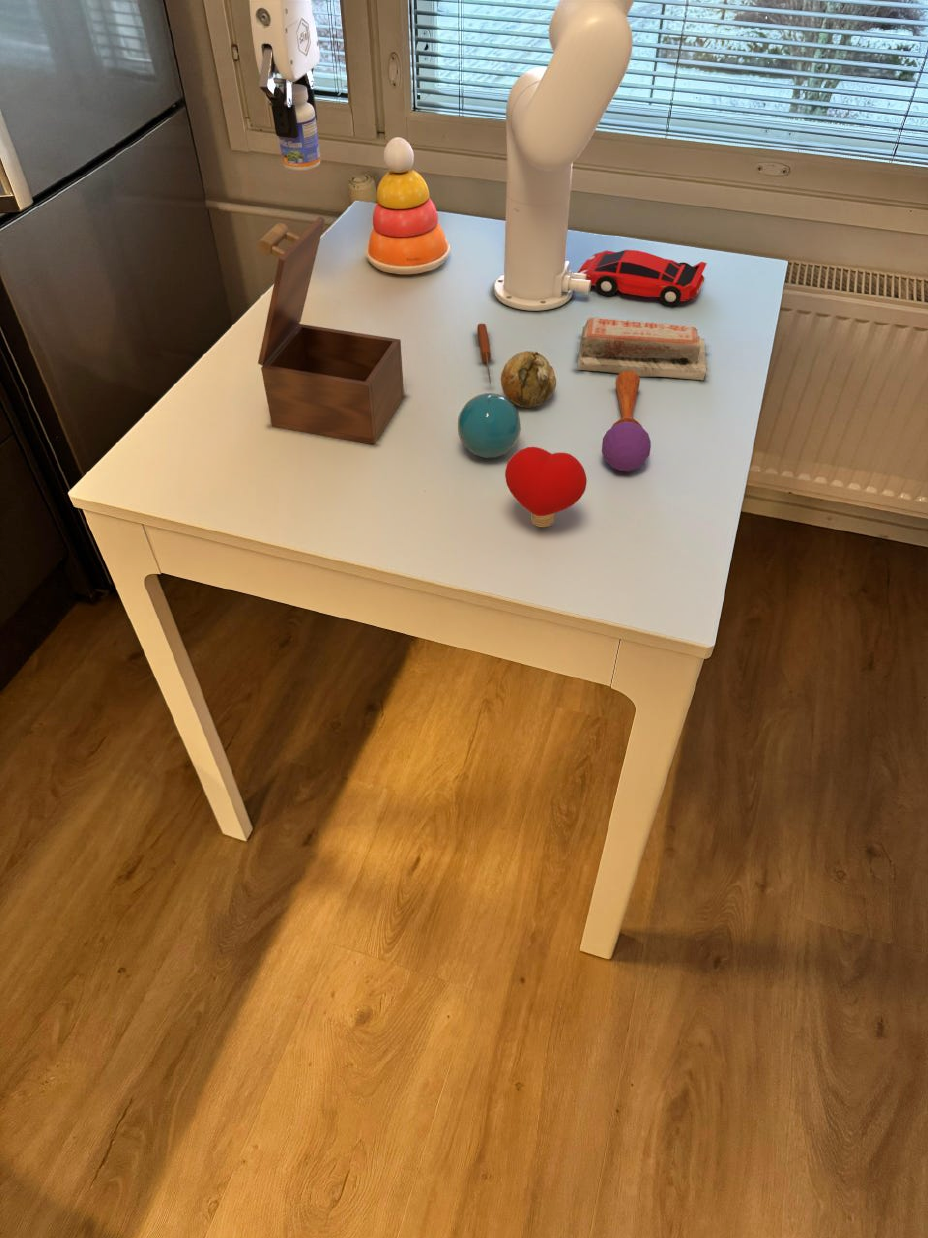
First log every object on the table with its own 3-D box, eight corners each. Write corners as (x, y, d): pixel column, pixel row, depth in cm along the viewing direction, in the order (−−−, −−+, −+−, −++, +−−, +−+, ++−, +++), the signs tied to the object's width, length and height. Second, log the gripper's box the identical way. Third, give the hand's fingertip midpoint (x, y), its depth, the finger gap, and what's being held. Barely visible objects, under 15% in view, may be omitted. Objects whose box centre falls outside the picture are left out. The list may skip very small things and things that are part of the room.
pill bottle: (275, 167, 129) (262, 91, 122) (299, 154, 132) (288, 79, 125) (305, 174, 127) (294, 97, 120) (329, 161, 130) (319, 85, 123)
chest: (404, 397, 126) (400, 339, 120) (374, 444, 119) (368, 385, 112) (307, 380, 129) (298, 323, 123) (271, 426, 122) (260, 367, 115)
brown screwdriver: (476, 333, 138) (477, 320, 136) (485, 332, 138) (486, 320, 137) (485, 390, 127) (485, 377, 126) (495, 390, 127) (495, 377, 126)
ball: (523, 436, 120) (526, 383, 114) (515, 474, 114) (517, 419, 108) (463, 431, 120) (462, 377, 115) (452, 467, 115) (451, 413, 109)
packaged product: (579, 341, 127) (584, 306, 133) (576, 372, 130) (581, 336, 137) (711, 351, 125) (709, 315, 131) (704, 382, 128) (703, 346, 135)
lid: (325, 218, 111) (290, 200, 111) (284, 260, 103) (246, 240, 103) (300, 321, 122) (268, 305, 122) (262, 366, 115) (228, 349, 115)
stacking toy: (448, 241, 160) (446, 120, 146) (452, 279, 150) (450, 153, 136) (367, 243, 159) (357, 122, 145) (365, 281, 149) (354, 155, 135)
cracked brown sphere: (566, 392, 127) (570, 340, 121) (541, 422, 122) (545, 369, 116) (516, 379, 129) (519, 327, 123) (491, 407, 124) (492, 354, 118)
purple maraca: (655, 367, 123) (657, 444, 109) (641, 405, 128) (641, 485, 113) (613, 356, 123) (609, 432, 109) (600, 395, 127) (595, 473, 113)
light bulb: (587, 515, 109) (596, 445, 101) (573, 552, 104) (580, 482, 97) (512, 499, 111) (515, 430, 103) (495, 535, 106) (497, 465, 99)
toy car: (584, 265, 153) (587, 235, 149) (704, 282, 149) (710, 251, 145) (569, 293, 146) (572, 263, 142) (695, 312, 142) (701, 281, 138)
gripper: (271, -11, 106) (296, 153, 120) (329, -44, 118) (345, 109, 131) (214, -14, 108) (244, 148, 121) (276, -47, 119) (298, 105, 132)
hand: (297, 126), depth 126 cm, fingers closed on pill bottle, 5 cm apart
